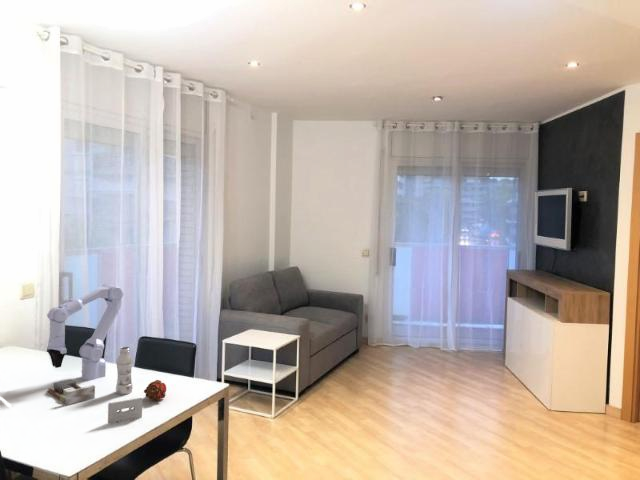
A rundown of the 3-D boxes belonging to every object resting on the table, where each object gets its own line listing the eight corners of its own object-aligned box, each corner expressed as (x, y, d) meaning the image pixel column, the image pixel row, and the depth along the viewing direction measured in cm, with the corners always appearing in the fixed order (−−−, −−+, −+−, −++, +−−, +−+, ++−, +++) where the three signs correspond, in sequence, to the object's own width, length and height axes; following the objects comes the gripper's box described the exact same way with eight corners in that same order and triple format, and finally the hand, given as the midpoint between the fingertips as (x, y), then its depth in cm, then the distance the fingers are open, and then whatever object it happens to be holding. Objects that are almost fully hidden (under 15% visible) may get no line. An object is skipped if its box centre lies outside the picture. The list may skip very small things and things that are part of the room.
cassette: (141, 416, 186) (141, 396, 186) (142, 418, 185) (142, 398, 184) (107, 423, 179) (107, 402, 179) (108, 424, 178) (108, 404, 177)
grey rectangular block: (70, 387, 209) (71, 379, 209) (75, 390, 206) (76, 382, 206) (53, 391, 204) (53, 383, 204) (58, 394, 201) (58, 386, 201)
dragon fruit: (155, 409, 197) (152, 402, 208) (173, 394, 200) (169, 388, 211) (142, 393, 196) (140, 387, 206) (160, 378, 199) (157, 373, 210)
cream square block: (72, 391, 204) (72, 386, 204) (76, 394, 202) (76, 389, 202) (63, 394, 202) (63, 389, 202) (67, 396, 199) (67, 391, 199)
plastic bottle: (135, 393, 208) (136, 347, 207) (123, 398, 202) (124, 351, 201) (124, 390, 211) (125, 345, 210) (112, 395, 205) (113, 348, 204)
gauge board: (73, 387, 212) (73, 373, 212) (94, 400, 199) (94, 385, 199) (46, 393, 204) (46, 379, 204) (66, 407, 191) (66, 392, 191)
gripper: (40, 333, 211) (40, 364, 212) (54, 340, 202) (53, 372, 202) (57, 331, 216) (57, 361, 217) (71, 337, 207) (71, 369, 208)
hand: (56, 366), depth 210 cm, fingers closed
